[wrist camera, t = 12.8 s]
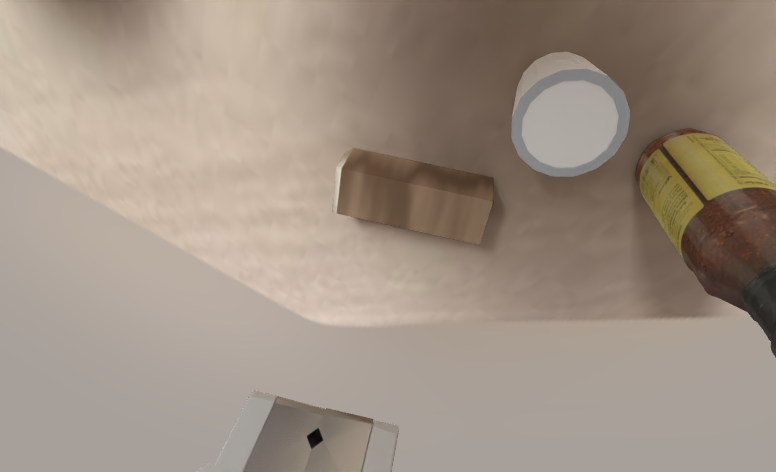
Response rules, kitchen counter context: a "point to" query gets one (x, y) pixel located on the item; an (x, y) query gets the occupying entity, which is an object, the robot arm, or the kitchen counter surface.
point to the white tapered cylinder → (567, 116)
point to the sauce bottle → (716, 218)
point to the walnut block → (413, 195)
